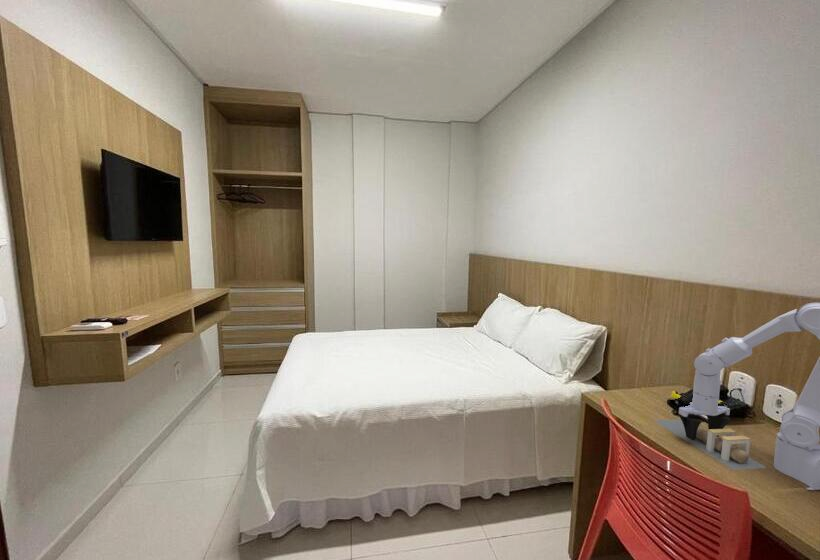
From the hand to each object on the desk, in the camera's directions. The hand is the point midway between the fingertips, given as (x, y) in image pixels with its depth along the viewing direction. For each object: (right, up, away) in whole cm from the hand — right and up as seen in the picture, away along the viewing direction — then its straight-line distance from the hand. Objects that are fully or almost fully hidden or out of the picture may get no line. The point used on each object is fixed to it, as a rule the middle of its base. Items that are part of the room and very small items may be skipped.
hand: (701, 437), depth 98 cm
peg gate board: (0, -2, 0) cm, 2 cm away
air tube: (0, -1, -4) cm, 4 cm away
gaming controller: (+17, 0, +23) cm, 28 cm away
